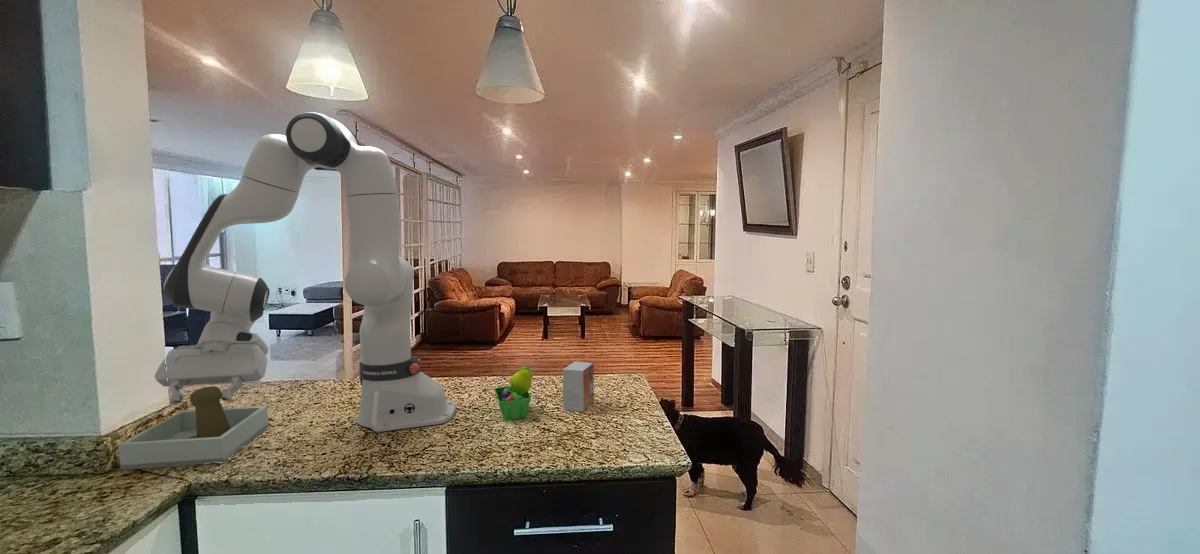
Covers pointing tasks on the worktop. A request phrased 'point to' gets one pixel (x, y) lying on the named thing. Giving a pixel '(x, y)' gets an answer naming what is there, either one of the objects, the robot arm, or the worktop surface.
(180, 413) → the grey square tray
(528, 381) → the fruit basket
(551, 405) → the worktop surface
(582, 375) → the small box
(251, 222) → the robot arm
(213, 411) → the cork
